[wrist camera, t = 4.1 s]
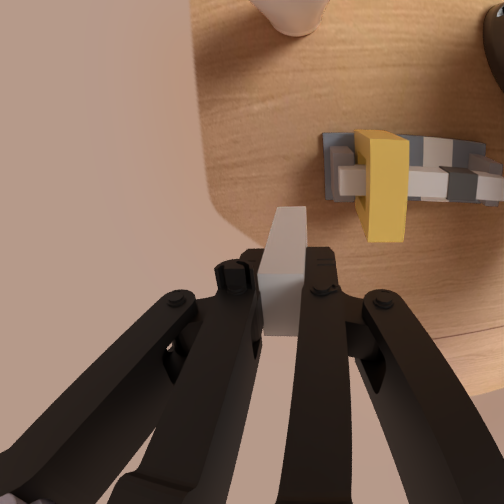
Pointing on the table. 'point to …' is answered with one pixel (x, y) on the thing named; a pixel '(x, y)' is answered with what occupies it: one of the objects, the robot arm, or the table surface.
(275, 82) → the table surface
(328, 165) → the rail
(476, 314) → the table surface
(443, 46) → the table surface
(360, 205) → the collar
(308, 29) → the white cup
